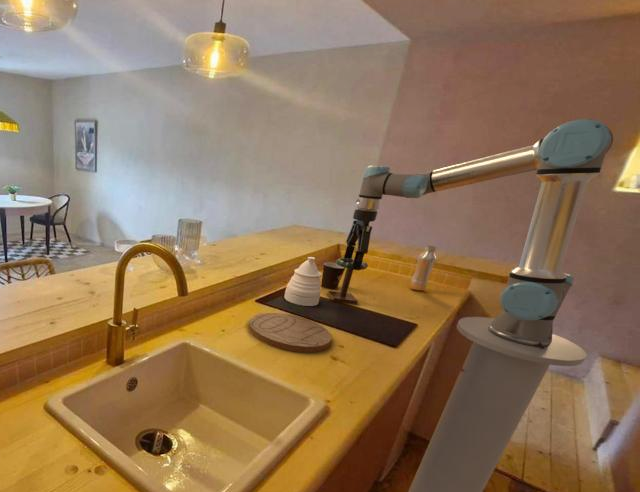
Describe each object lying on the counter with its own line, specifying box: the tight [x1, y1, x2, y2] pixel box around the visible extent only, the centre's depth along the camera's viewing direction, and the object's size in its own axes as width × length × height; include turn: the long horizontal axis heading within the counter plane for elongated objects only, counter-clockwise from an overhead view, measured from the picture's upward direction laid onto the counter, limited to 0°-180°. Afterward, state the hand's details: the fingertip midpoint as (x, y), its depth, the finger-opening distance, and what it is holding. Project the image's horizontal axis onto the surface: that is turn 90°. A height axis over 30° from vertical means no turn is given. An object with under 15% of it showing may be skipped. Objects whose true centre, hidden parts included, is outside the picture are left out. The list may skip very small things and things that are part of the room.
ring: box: [335, 257, 369, 271], centre depth 154 cm, size 11×11×2 cm
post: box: [327, 262, 359, 305], centre depth 157 cm, size 9×9×16 cm
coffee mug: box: [320, 262, 346, 290], centre depth 173 cm, size 12×9×10 cm
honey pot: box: [284, 256, 323, 307], centre depth 153 cm, size 13×13×18 cm
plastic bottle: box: [408, 245, 437, 292], centre depth 172 cm, size 6×7×20 cm
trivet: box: [248, 312, 332, 353], centre depth 127 cm, size 25×25×2 cm
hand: (350, 265), depth 155 cm, fingers closed on ring, 11 cm apart
